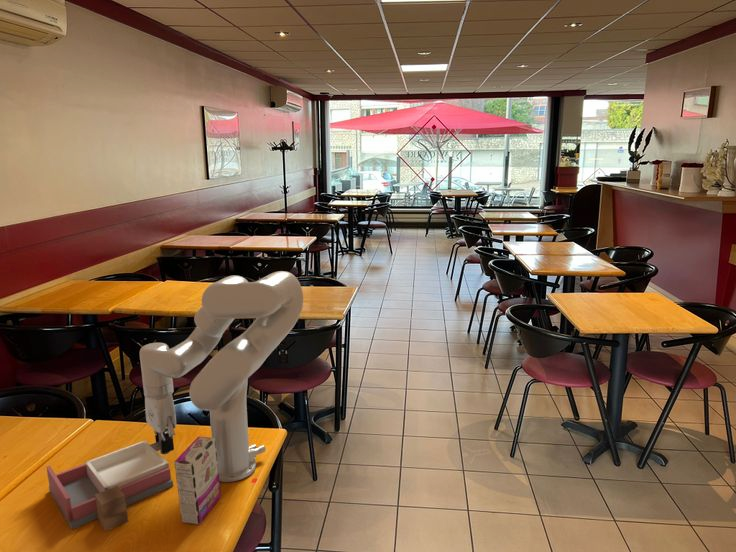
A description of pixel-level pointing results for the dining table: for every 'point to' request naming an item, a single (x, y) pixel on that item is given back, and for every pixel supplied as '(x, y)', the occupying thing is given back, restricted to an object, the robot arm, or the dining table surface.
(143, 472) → the white tray
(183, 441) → the dining table surface
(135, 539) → the dining table surface
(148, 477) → the bay
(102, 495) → the walnut block
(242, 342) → the robot arm
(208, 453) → the candy bar box
